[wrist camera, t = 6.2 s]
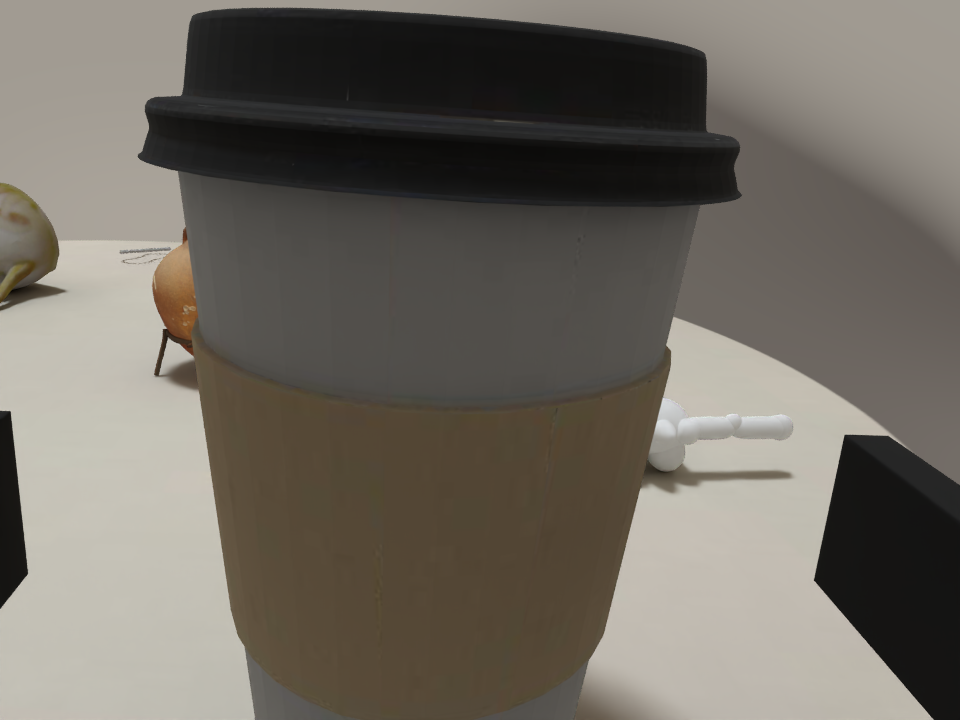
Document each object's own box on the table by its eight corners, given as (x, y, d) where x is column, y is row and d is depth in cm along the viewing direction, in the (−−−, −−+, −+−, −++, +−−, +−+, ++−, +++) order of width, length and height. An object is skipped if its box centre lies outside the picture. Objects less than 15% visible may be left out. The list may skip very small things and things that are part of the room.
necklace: (176, 251, 71) (176, 246, 71) (139, 255, 66) (138, 249, 66) (152, 251, 72) (151, 246, 72) (113, 255, 67) (112, 249, 67)
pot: (186, 360, 46) (129, 384, 39) (188, 214, 44) (130, 215, 38) (290, 370, 45) (250, 396, 39) (296, 223, 44) (255, 226, 38)
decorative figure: (446, 328, 48) (520, 402, 30) (643, 331, 50) (816, 402, 33) (444, 387, 48) (515, 492, 31) (639, 387, 51) (806, 485, 33)
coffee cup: (353, 614, 23) (366, 53, 19) (683, 736, 20) (796, 72, 15) (63, 872, 15) (-31, -7, 11) (533, 1165, 12) (682, 2, 7)
